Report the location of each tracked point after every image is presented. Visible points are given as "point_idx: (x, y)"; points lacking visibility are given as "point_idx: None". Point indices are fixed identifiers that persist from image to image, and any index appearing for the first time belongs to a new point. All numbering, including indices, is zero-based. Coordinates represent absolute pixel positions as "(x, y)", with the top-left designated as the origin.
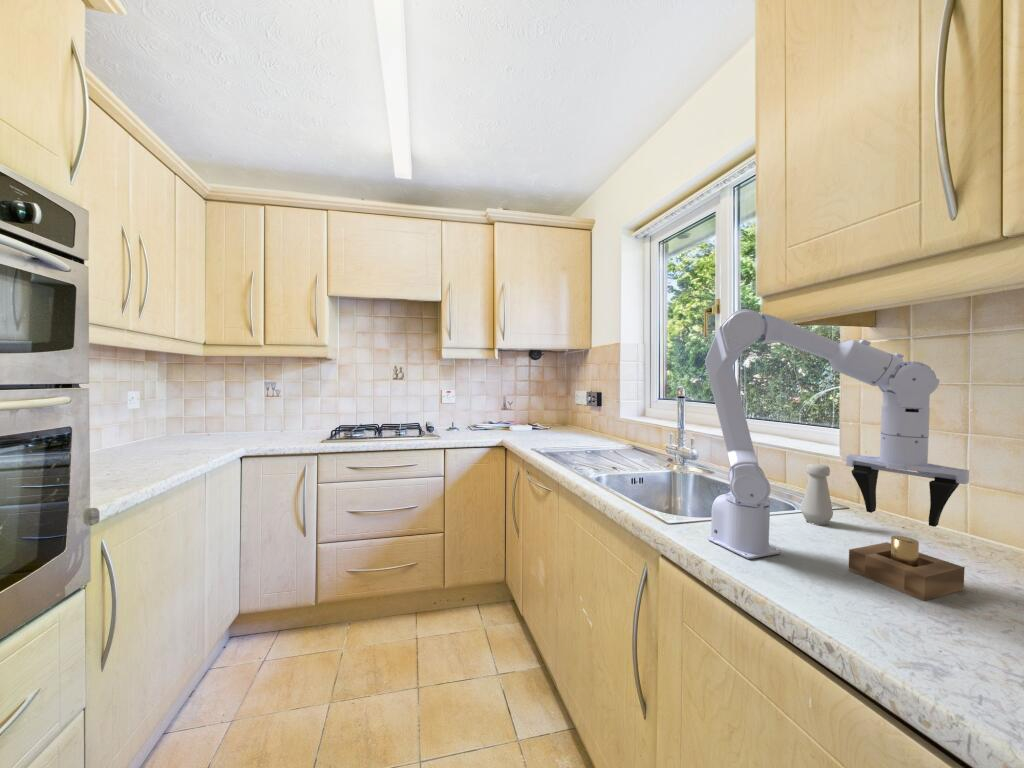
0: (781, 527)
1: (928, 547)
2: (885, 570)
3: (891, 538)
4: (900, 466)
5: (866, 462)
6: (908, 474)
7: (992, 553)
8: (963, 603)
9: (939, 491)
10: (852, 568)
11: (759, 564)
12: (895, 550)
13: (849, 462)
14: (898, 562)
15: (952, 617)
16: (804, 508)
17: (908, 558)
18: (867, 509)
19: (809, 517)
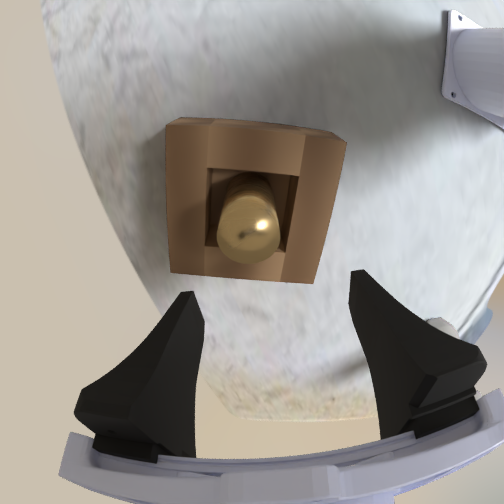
0: (471, 254)
1: (289, 368)
2: (254, 126)
3: (275, 220)
4: (236, 495)
5: (449, 445)
6: (257, 459)
7: (238, 398)
8: (150, 182)
9: (114, 385)
10: (324, 131)
11: (428, 4)
12: (258, 196)
13: (498, 407)
14: (240, 163)
15: (129, 97)
16: (455, 331)
17: (231, 196)
18: (365, 274)
19: (442, 322)
